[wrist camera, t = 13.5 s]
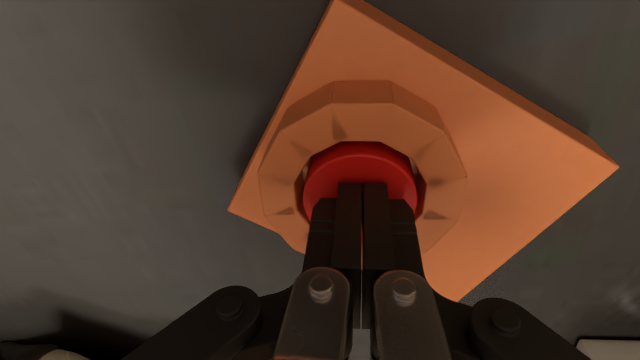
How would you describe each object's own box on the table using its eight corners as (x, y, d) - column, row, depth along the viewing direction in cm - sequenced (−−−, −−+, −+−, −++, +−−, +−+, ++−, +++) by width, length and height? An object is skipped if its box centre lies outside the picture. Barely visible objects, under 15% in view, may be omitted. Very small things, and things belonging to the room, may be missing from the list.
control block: (240, 180, 18) (212, 242, 14) (338, -16, 13) (330, 10, 9) (441, 272, 20) (457, 345, 16) (589, 136, 15) (654, 200, 12)
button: (291, 187, 14) (283, 217, 13) (339, 108, 12) (337, 134, 11) (375, 226, 15) (376, 260, 14) (433, 157, 13) (441, 188, 12)
